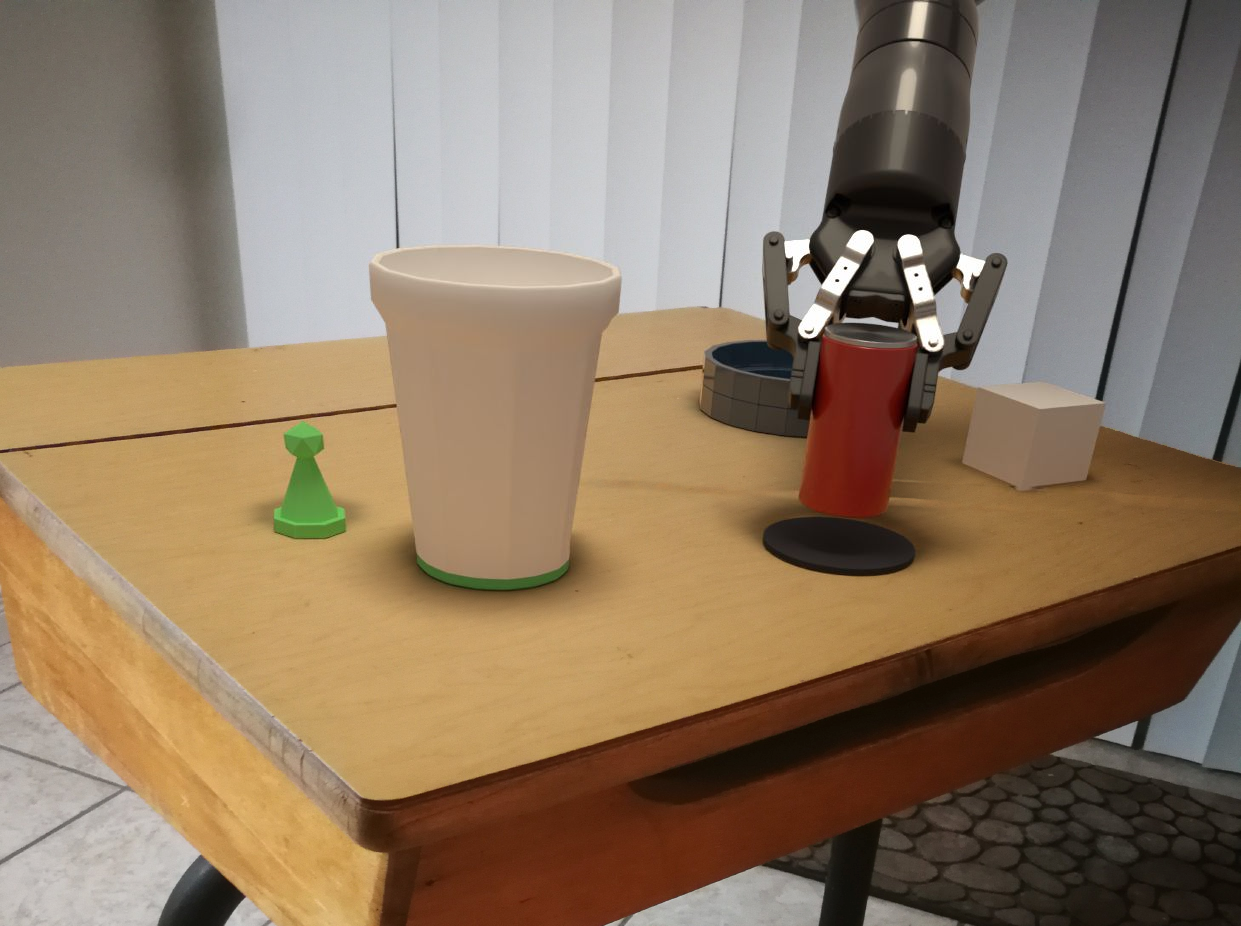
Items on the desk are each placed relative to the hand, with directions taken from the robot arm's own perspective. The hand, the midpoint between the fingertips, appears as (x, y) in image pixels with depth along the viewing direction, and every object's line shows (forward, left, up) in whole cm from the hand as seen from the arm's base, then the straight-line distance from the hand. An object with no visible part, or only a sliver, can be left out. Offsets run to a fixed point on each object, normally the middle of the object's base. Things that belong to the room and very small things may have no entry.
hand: (857, 417), depth 72 cm
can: (0, -2, -5) cm, 6 cm away
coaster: (0, -2, -8) cm, 8 cm away
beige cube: (-15, -18, -8) cm, 25 cm away
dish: (0, -31, -8) cm, 32 cm away
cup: (+20, +4, -8) cm, 22 cm away
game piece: (+31, 0, -8) cm, 32 cm away
